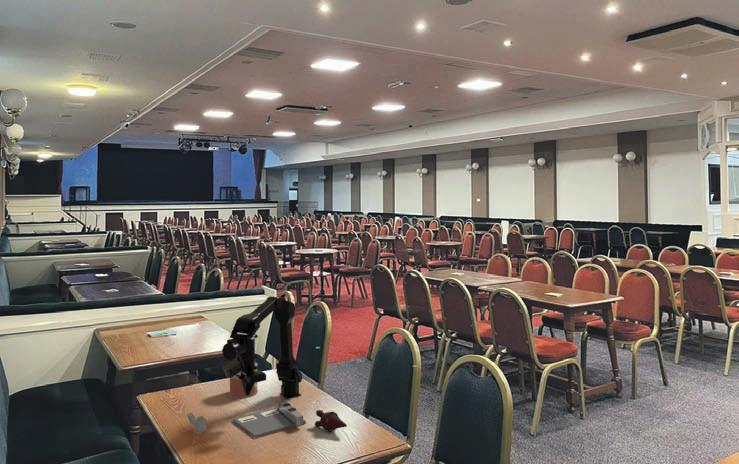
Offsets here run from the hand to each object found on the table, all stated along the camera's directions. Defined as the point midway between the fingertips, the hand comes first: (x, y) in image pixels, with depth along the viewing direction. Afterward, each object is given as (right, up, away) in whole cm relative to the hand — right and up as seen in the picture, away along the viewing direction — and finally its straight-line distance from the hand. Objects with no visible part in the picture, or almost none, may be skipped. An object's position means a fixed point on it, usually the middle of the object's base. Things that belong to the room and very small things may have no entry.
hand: (247, 395), depth 201 cm
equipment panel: (+8, -10, 0) cm, 13 cm away
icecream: (+31, -11, -6) cm, 33 cm away
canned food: (-8, -8, +30) cm, 32 cm away
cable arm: (+15, -8, +3) cm, 17 cm away
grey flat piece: (-15, -11, -9) cm, 21 cm away
